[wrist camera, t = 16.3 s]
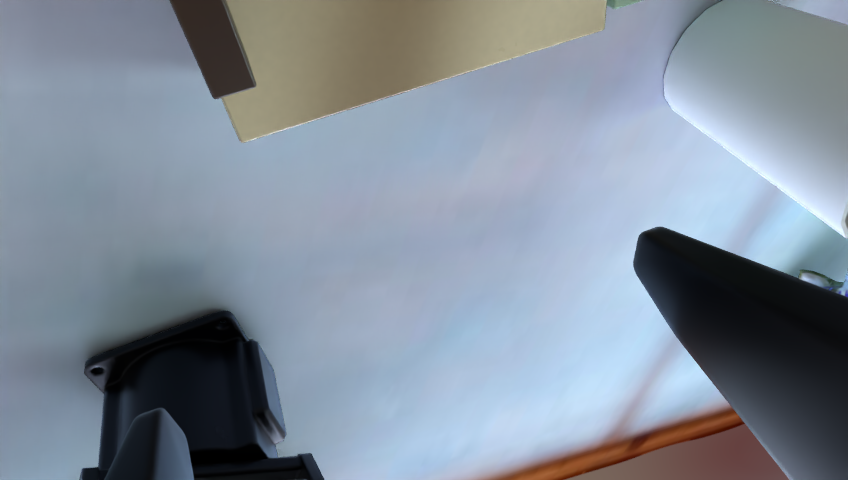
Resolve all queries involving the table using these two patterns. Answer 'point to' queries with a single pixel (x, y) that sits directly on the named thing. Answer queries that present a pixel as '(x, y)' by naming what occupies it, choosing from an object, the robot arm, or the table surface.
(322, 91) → the sliding lid
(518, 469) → the table surface
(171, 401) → the robot arm
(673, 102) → the white cup
